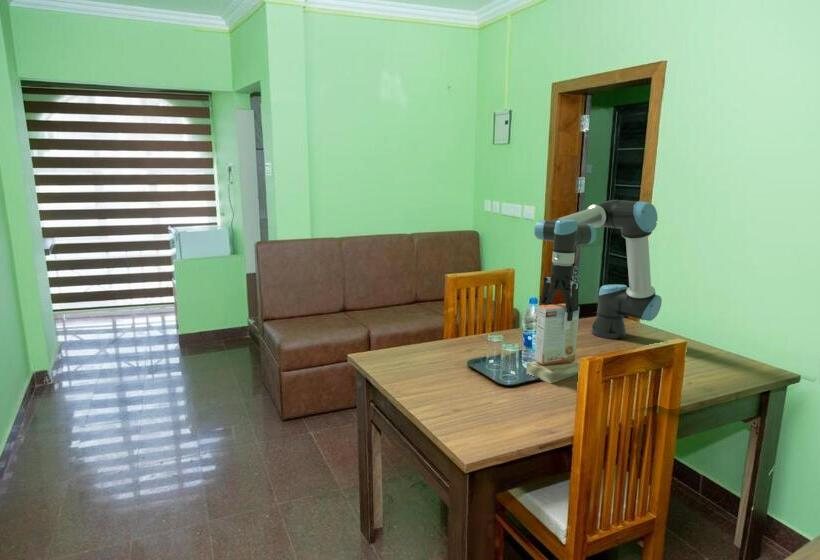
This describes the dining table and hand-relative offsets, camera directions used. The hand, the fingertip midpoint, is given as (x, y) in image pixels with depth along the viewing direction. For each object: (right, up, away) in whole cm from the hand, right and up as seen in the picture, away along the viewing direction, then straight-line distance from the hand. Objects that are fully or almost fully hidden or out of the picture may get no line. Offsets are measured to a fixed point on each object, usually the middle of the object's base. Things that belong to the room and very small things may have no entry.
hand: (557, 326), depth 196 cm
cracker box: (0, -13, +3) cm, 13 cm away
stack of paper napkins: (-1, -18, +4) cm, 18 cm away
